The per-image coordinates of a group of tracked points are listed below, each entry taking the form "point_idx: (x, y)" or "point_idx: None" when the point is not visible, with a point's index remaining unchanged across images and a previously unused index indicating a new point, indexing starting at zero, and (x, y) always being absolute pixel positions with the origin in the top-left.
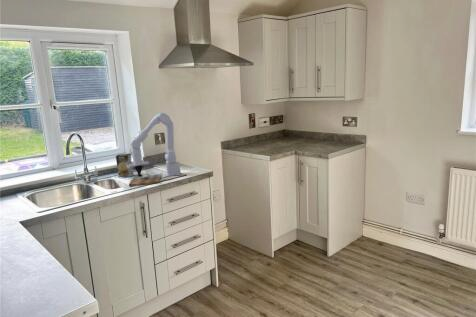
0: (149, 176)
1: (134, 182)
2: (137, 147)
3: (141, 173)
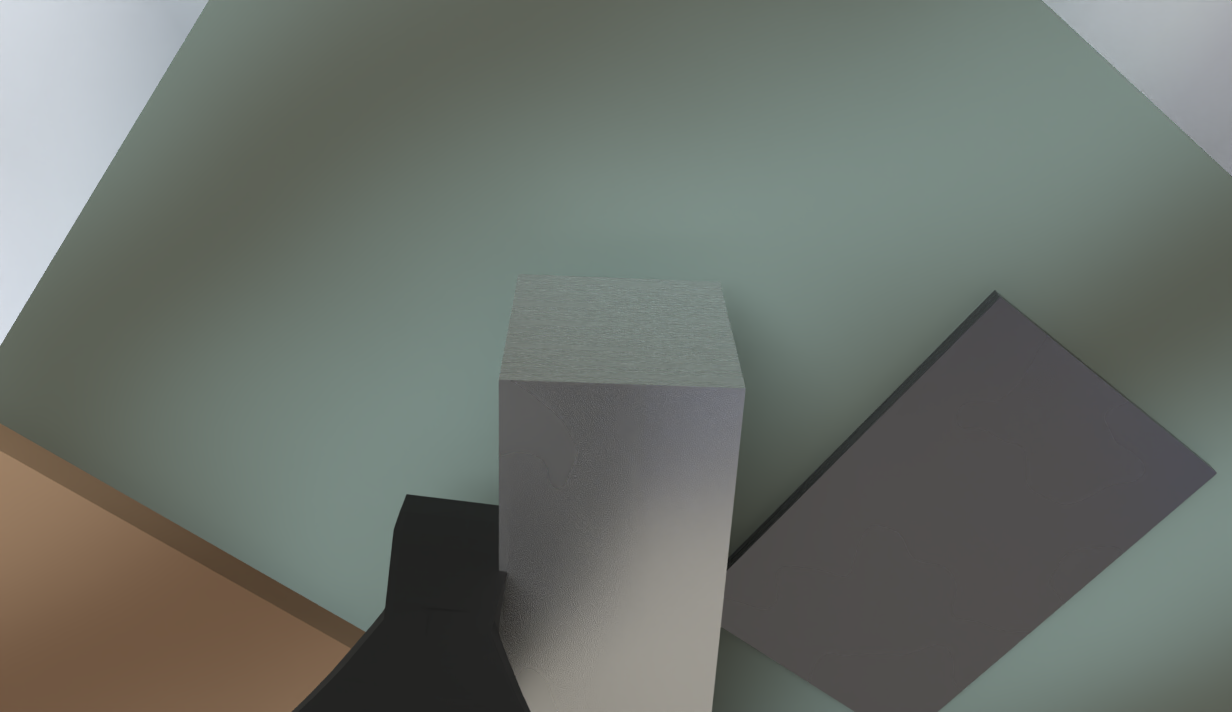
0: (1035, 592)
1: None
2: None
3: (673, 619)
